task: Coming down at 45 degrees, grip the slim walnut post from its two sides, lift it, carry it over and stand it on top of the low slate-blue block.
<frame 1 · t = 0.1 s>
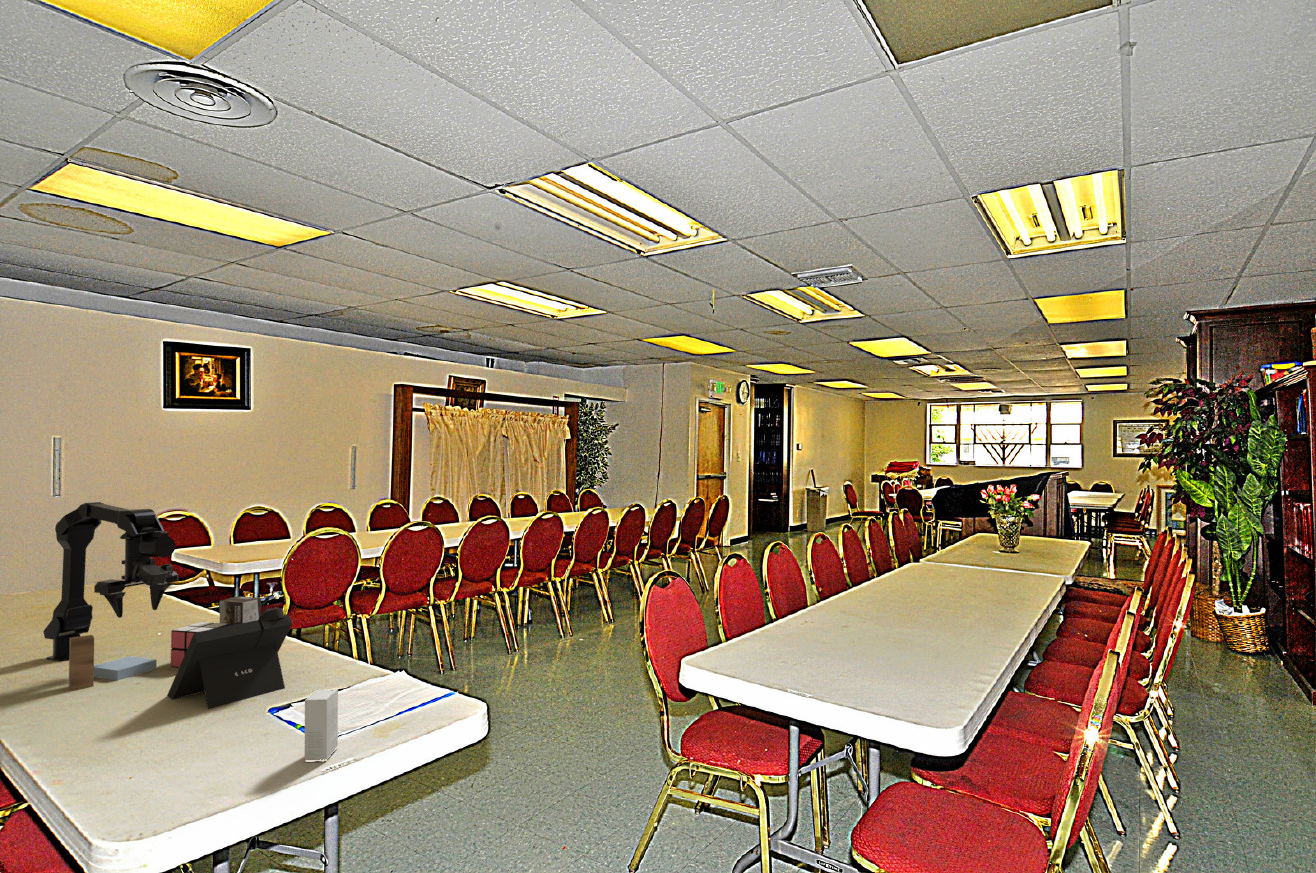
hand: (137, 613, 191), 15 cm above the table, tool pointing down, fingers open, 9 cm apart
puzzle cube: (200, 663, 196), on the table
walnut post: (81, 686, 176), on the table
office phone: (237, 684, 179), on the table
coffee box: (240, 655, 203), on the table
skincare box: (321, 756, 137), on the table
blue block: (123, 674, 187), on the table
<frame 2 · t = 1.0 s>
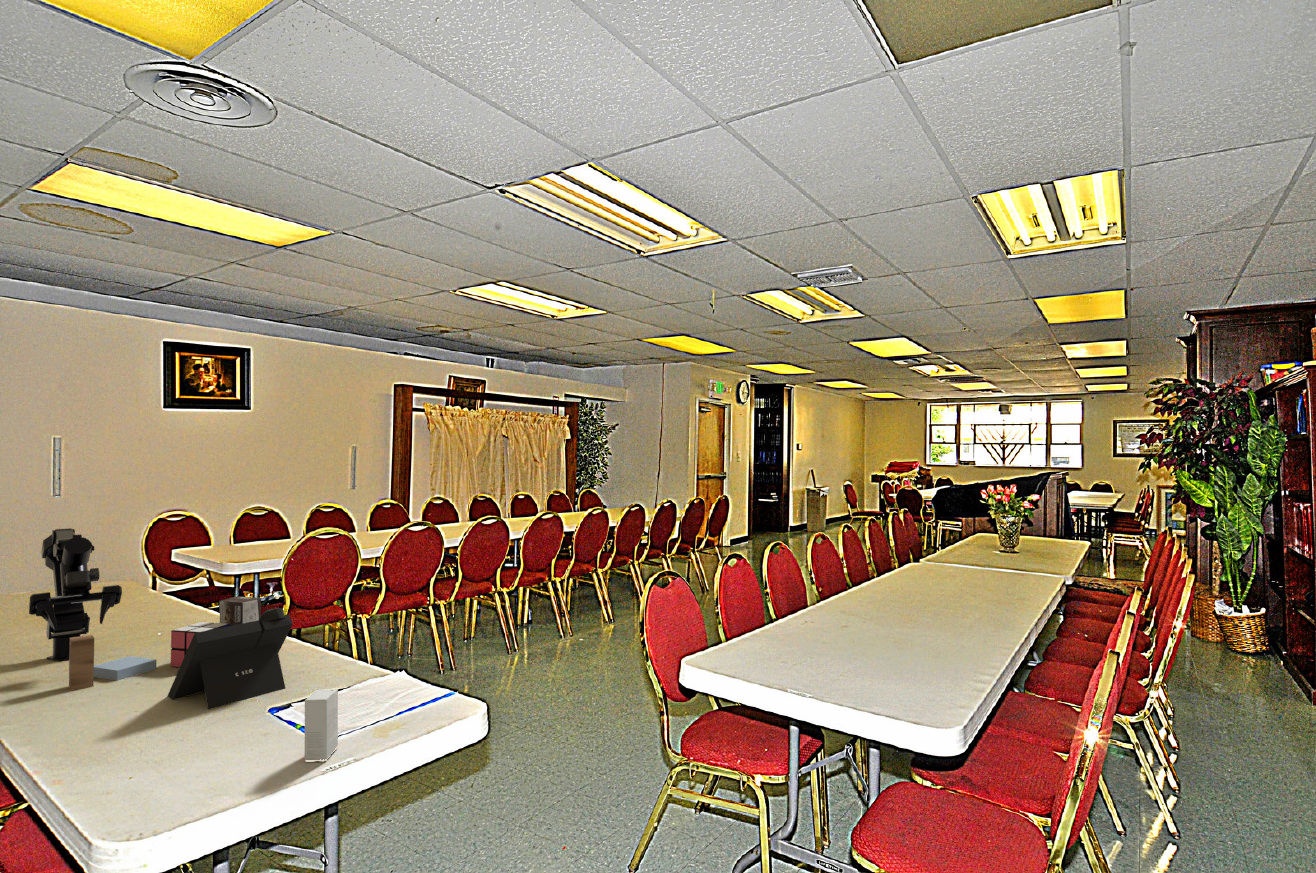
hand: (78, 626, 182), 13 cm above the table, tool tilted 45°, fingers open, 9 cm apart
nothing on the table moved.
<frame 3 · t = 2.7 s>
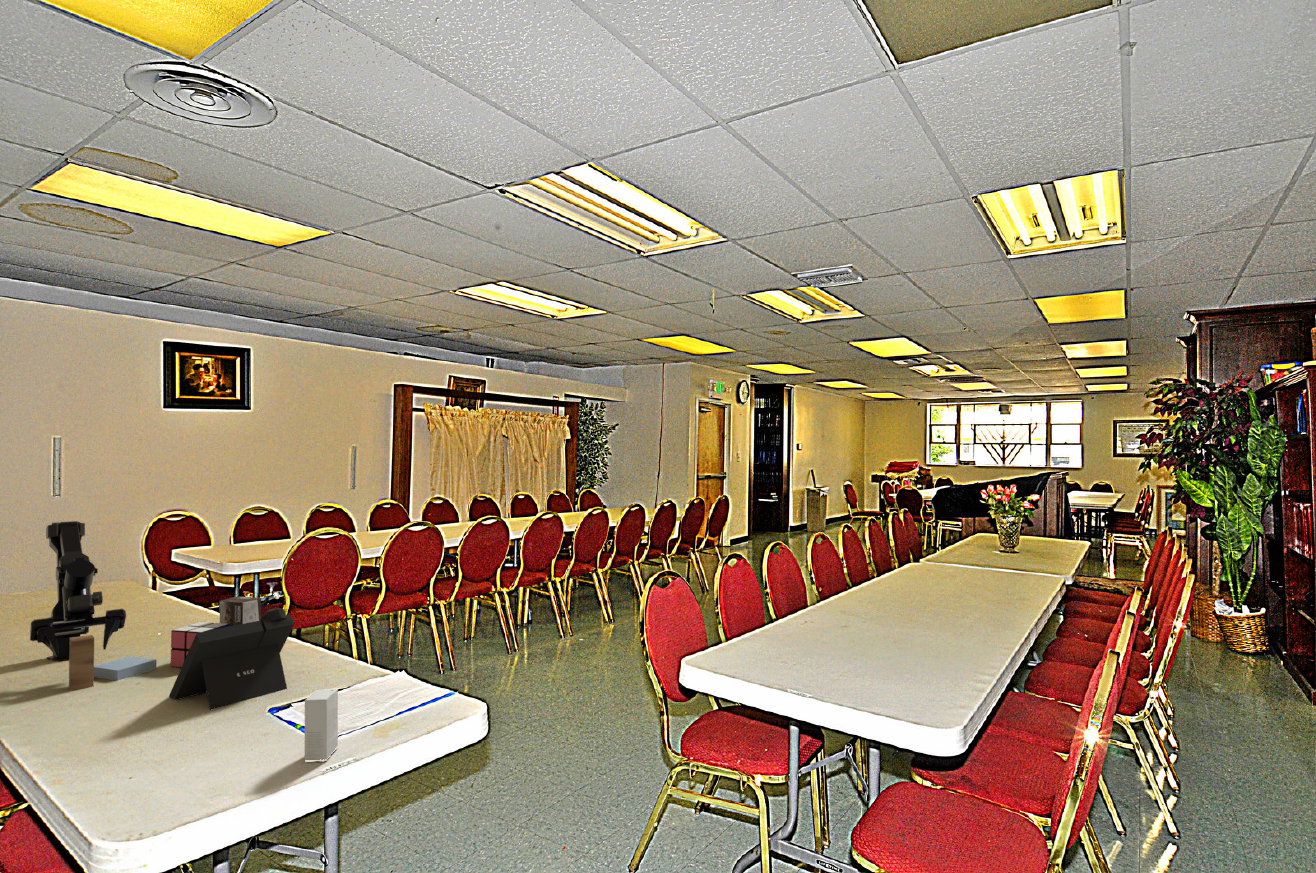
hand: (81, 652, 176), 8 cm above the table, tool tilted 45°, fingers open, 9 cm apart
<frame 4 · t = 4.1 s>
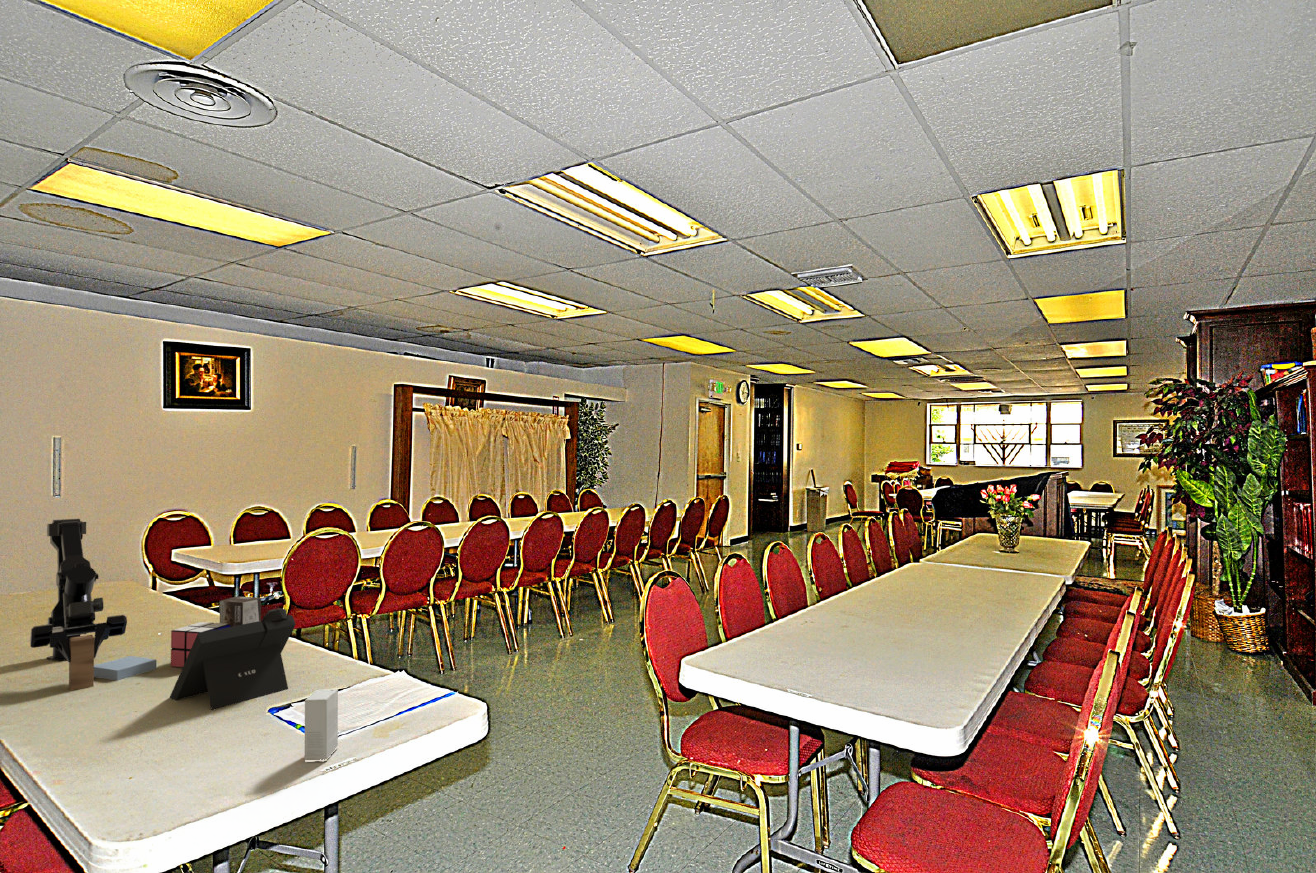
hand: (82, 659, 175), 7 cm above the table, tool tilted 45°, fingers closed on walnut post, 4 cm apart
walnut post: (81, 686, 176), on the table, touching gripper
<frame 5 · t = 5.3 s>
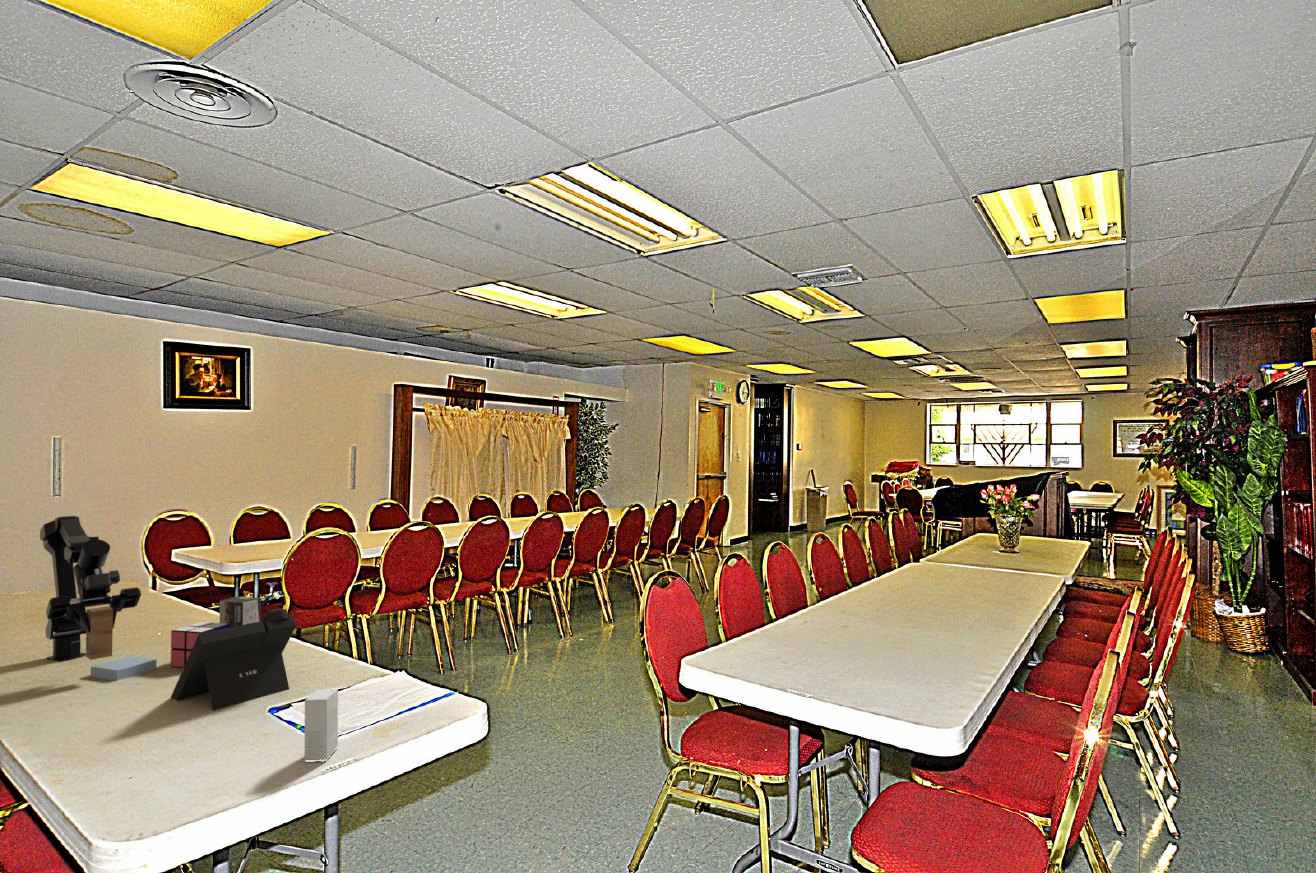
hand: (101, 629, 179), 13 cm above the table, tool tilted 45°, fingers closed on walnut post, 4 cm apart
walnut post: (98, 656, 180), point 6 cm above the table, touching gripper
when the fingers open (11 cm above the table, at t = 6.7 s): walnut post drops 1 cm, resting on blue block.
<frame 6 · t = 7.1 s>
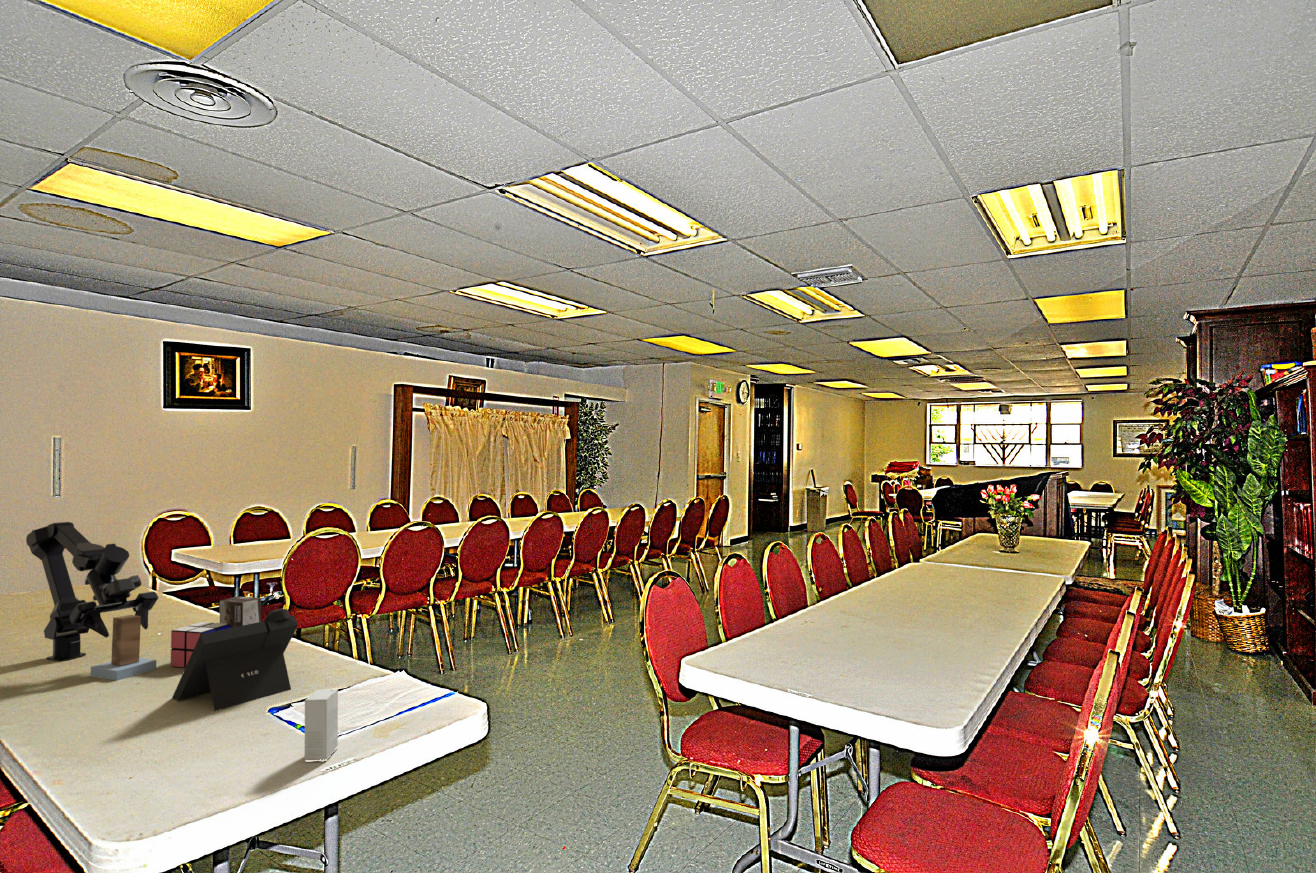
hand: (127, 632, 186), 11 cm above the table, tool tilted 45°, fingers open, 9 cm apart
walnut post: (125, 662, 187), point 3 cm above the table, touching blue block
blue block: (123, 674, 187), on the table, touching walnut post
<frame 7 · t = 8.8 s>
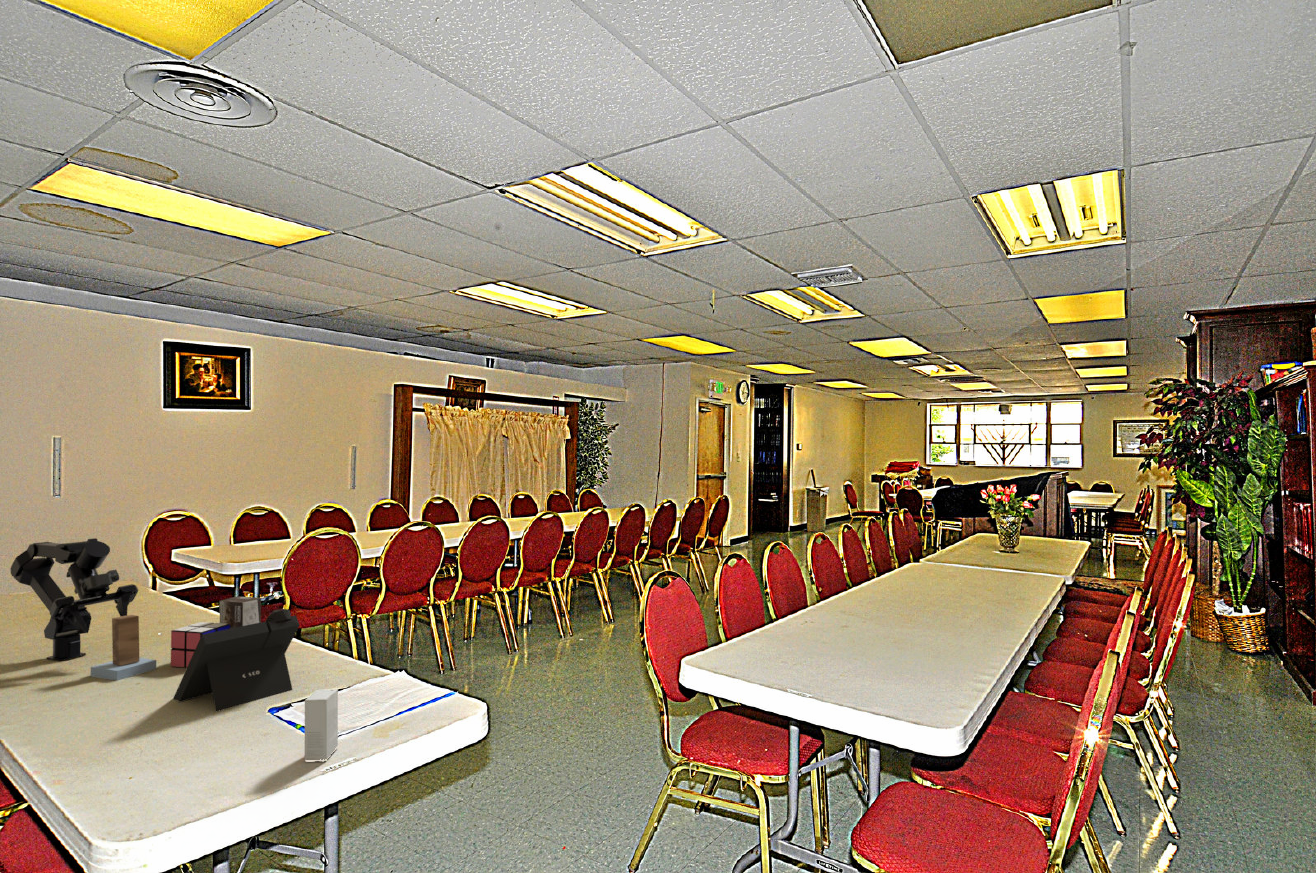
hand: (106, 625, 191), 11 cm above the table, tool tilted 45°, fingers open, 9 cm apart
walnut post: (126, 662, 187), point 3 cm above the table
blue block: (123, 674, 187), on the table
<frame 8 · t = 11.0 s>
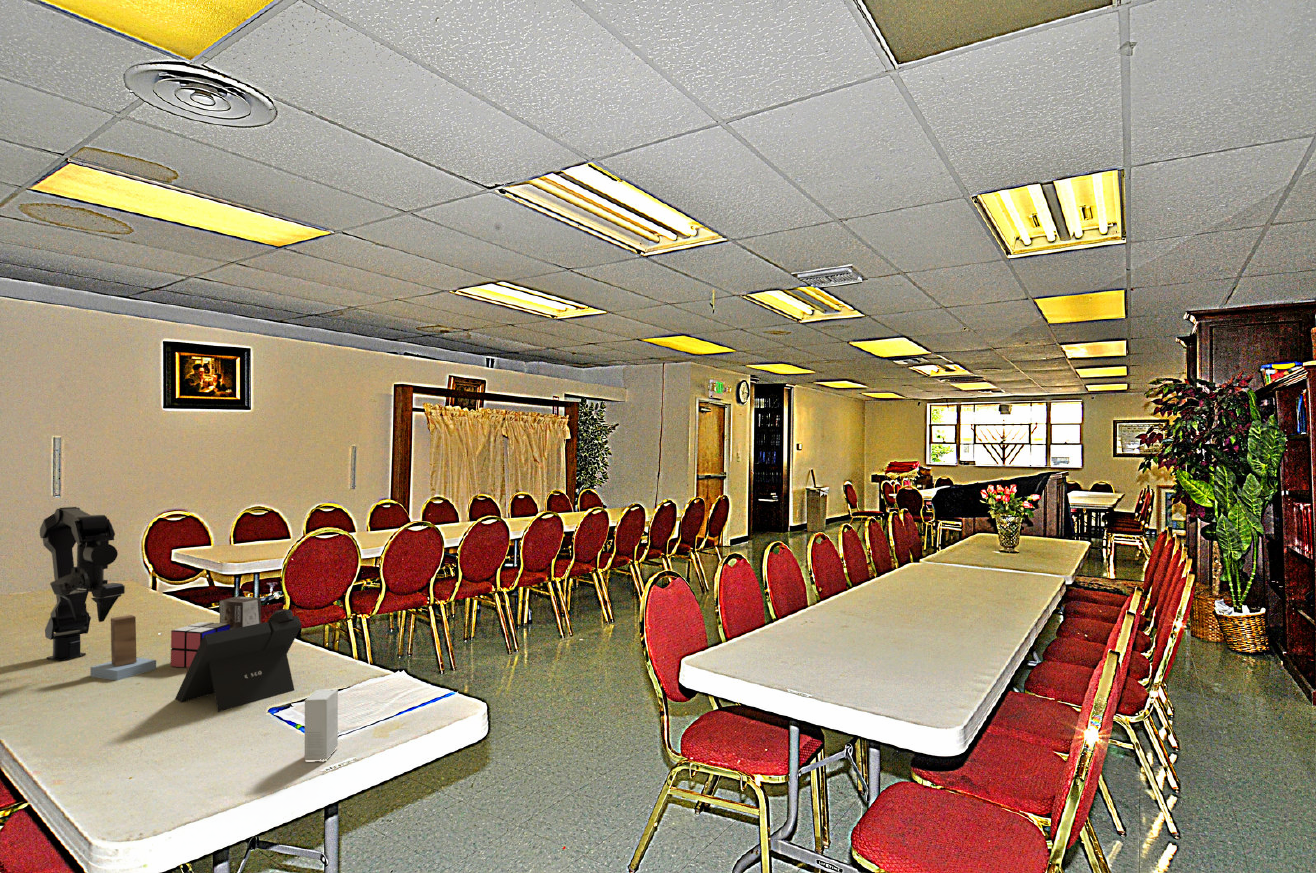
hand: (89, 620, 190), 13 cm above the table, tool pointing down, fingers open, 9 cm apart
at the end: walnut post inside the target area on the blue block (0.2 cm from its centre), point 3.1 cm above the blue block's base; walnut post tilted 3°; the gripper is holding nothing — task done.
